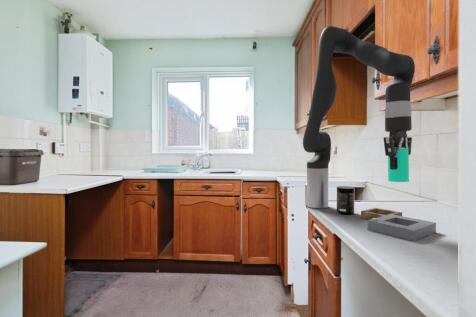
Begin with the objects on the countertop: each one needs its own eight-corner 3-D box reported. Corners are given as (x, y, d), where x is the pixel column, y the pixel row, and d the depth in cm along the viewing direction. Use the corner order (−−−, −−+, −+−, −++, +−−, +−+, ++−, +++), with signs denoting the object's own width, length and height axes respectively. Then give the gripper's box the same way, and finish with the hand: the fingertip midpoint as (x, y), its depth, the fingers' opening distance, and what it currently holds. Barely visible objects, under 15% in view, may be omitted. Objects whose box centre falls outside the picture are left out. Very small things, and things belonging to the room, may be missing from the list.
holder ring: (360, 217, 108) (360, 211, 108) (375, 214, 113) (375, 207, 113) (387, 223, 99) (387, 216, 99) (402, 219, 105) (402, 212, 105)
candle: (413, 181, 92) (413, 143, 91) (398, 182, 90) (398, 143, 90) (397, 179, 97) (397, 144, 97) (383, 180, 96) (383, 144, 95)
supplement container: (356, 212, 116) (356, 186, 116) (352, 216, 111) (352, 189, 110) (338, 210, 120) (338, 185, 120) (334, 214, 114) (334, 187, 114)
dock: (367, 229, 93) (367, 218, 92) (390, 222, 101) (390, 212, 100) (414, 241, 81) (414, 228, 81) (435, 232, 89) (436, 220, 89)
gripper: (397, 119, 101) (397, 167, 101) (374, 116, 92) (375, 169, 93) (420, 116, 94) (421, 168, 95) (398, 113, 86) (399, 170, 86)
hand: (398, 168), depth 94 cm, fingers closed on candle, 5 cm apart
